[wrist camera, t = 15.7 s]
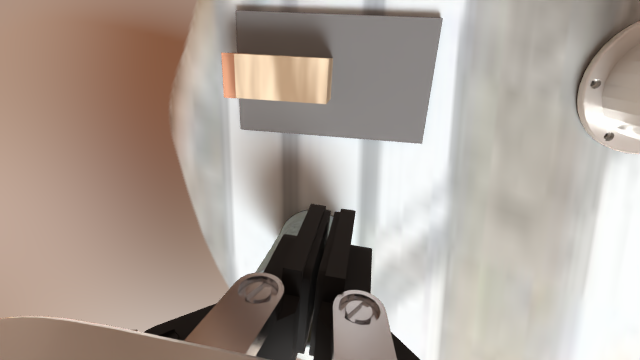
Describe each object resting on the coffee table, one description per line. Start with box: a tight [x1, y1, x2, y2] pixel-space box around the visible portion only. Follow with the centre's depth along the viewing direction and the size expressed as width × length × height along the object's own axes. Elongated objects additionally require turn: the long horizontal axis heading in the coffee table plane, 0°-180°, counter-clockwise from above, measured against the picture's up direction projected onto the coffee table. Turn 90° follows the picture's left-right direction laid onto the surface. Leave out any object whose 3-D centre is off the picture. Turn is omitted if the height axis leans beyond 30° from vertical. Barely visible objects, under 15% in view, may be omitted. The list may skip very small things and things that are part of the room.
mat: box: [236, 10, 443, 144], centre depth 34 cm, size 20×12×1 cm, turn 87°
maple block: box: [221, 53, 333, 104], centre depth 32 cm, size 4×4×10 cm
